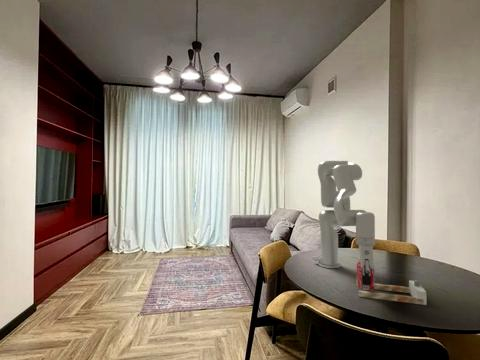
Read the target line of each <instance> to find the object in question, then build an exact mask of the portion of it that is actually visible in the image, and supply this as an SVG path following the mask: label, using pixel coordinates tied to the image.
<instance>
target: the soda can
mask: <svg viewBox="0 0 480 360" xmlns="http://www.w3.org/2000/svg"><path fill="white" fill-rule="evenodd" d="M364 268H366V267H365V266H364ZM365 270H366V269H364V271H365ZM375 270H376V269H375V268H374V269H371V268H370V276H371V285H363V284H362V275H363V268H361V264H360V260H359V259H358V261H357V263H356V282H357V286H358V287H357V286H356V287H357V288H359V290H360V291H368V292H372V291H373V290H375V289H374V286H375V284H376V283H375V280H376V279H375V277H376V274H375V272H376V271H375Z"/></svg>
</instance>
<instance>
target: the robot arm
mask: <svg viewBox="0 0 480 360" xmlns="http://www.w3.org/2000/svg"><path fill="white" fill-rule="evenodd" d="M317 175H318V179H319V183H320V203H321V205H322V207H323V208H332V209H326V210H322V211H320V212H319V214H318V222H319V229H320V256H313V255H312V260H313V261H317V265H318V266H320V267H322V268H324V269H325V268H326V269H339V268H341V267H342V263H341V262H340V261H339V234H338V232H337V231H336V229H335V228H337V227H340V228H341V227H355V244H356V245H358V258H359V259H358V260H360V264H361V268H363V275H362V284H363V285H371V276H370V268H371V269H375V264H374V263H375V262H374V248H373V246H375V245H376V230H375V229H376V227H375V226H376V223H375V221H376V218H375V217H376V216H375V214H374V213H373V212H370V211H366V210H364V209H351V198H350V197H351V196H353V195H354V194H356V192H357V188H356V184H355V181H359V180H361V179H362V177H363V170H362V168H361V166H360V165H359V164H357V163H355V162H352V161H348V160H325V161H321V162H320V163H319V164H318V167H317ZM364 266H365V267H366V268H364ZM364 269H366V270H365V271H364Z"/></svg>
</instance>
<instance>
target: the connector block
mask: <svg viewBox="0 0 480 360" xmlns="http://www.w3.org/2000/svg"><path fill="white" fill-rule="evenodd" d="M408 287H409V288H410V293H409V294H410V295H411V297H417V299H424V305H423V306H427V302H428V301H427V299H428V298H427V291H426V290H425V289H424V288H423V286H422V284H421V281H420V280H418V279H415V280H408Z"/></svg>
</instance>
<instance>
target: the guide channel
mask: <svg viewBox="0 0 480 360" xmlns="http://www.w3.org/2000/svg"><path fill="white" fill-rule="evenodd" d="M355 283H356V285H355V286H356V288H359V287H358V286H357V281H356V282H355ZM373 290H379V291H388V292H395V293H396V292H397V293H405V294H410V288H409V286H401V285H396V284H395V285H394V284H382V283H375V286H374V289H373ZM358 297H360V298H369V299H374V300H375V299H376V300H385V301H390V302H391V301H393V302H399V303H408V304H416V305H422V306H425V305H424V299H417V297H412V295H411V296H409V295H402V294H393V293H385V292H374V291H364V290H361V289H359V290H358Z"/></svg>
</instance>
